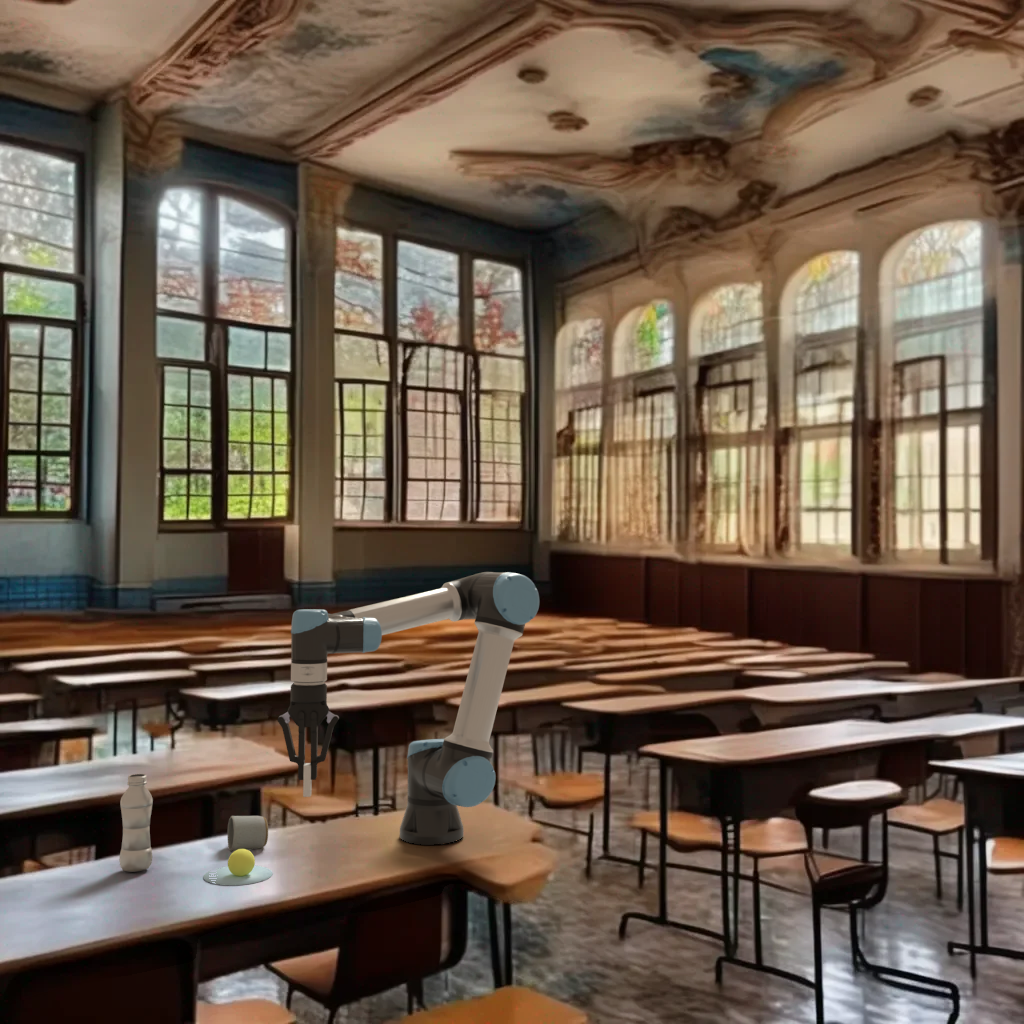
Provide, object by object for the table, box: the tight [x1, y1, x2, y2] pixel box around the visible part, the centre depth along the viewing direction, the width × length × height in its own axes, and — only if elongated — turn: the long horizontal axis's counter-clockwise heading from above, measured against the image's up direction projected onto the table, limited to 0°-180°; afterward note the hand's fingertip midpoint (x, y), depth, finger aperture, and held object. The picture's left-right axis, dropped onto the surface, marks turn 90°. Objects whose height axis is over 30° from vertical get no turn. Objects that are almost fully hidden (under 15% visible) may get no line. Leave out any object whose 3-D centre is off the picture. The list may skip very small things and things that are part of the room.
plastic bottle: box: [119, 773, 154, 873], centre depth 235 cm, size 6×7×20 cm
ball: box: [227, 849, 256, 876], centre depth 231 cm, size 6×6×6 cm
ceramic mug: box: [227, 815, 269, 852], centre depth 254 cm, size 11×8×8 cm
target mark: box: [203, 865, 274, 887], centre depth 232 cm, size 14×14×1 cm
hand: (307, 795), depth 233 cm, fingers closed
